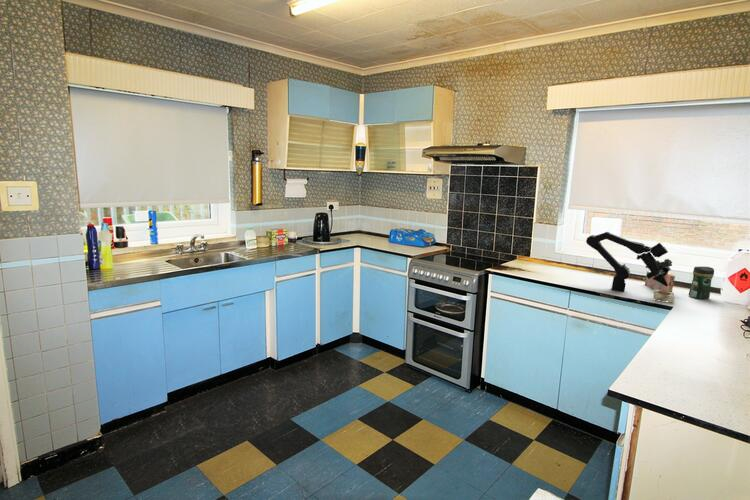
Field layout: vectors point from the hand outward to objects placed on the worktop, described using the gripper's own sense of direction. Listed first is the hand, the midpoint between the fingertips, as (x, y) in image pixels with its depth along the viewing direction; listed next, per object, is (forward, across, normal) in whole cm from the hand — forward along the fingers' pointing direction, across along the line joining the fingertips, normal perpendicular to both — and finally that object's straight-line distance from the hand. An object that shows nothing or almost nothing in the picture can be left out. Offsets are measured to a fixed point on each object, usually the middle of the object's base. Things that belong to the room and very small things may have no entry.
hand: (668, 285), depth 240 cm
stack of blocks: (-2, +20, +15) cm, 24 cm away
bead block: (+5, 0, +7) cm, 9 cm away
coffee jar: (+12, +24, 0) cm, 27 cm away
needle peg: (+4, 0, +6) cm, 7 cm away
